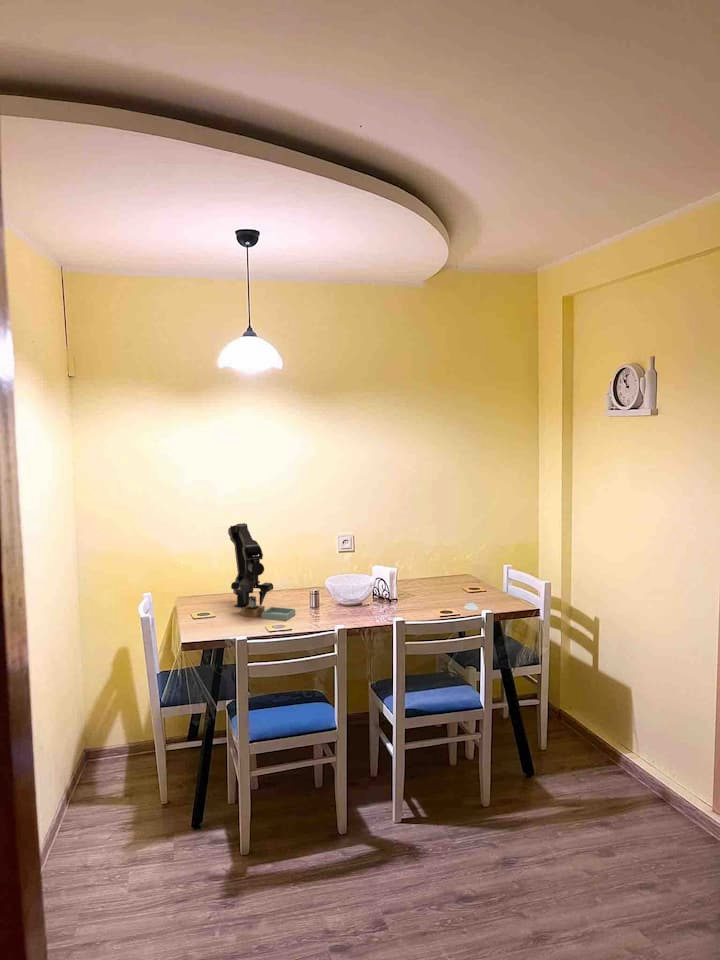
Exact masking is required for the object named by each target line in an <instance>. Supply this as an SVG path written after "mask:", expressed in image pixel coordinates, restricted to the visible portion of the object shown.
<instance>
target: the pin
mask: <svg viewBox="0 0 720 960" xmlns="http://www.w3.org/2000/svg"><path fill="white" fill-rule="evenodd" d="M256 605H257V596H255V595H249V609H256Z"/></svg>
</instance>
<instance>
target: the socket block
mask: <svg viewBox="0 0 720 960" xmlns="http://www.w3.org/2000/svg"><path fill="white" fill-rule="evenodd" d="M264 611H266V610H265V605H258V604H256V609H249V605H247V606H246V607H241V608H240V616H241V617H249V618H259V616H262V612H264Z"/></svg>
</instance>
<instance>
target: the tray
mask: <svg viewBox="0 0 720 960" xmlns="http://www.w3.org/2000/svg"><path fill="white" fill-rule="evenodd" d="M294 616H296V608H289V607H288V608H287V607H276V606H270V607H269V608H267V609H266V610H265V611H264V612H262V614H261V619H262V620H273V621H282V622H287V621H289V620H290V619H292V618H293V617H294Z"/></svg>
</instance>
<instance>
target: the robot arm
mask: <svg viewBox="0 0 720 960" xmlns="http://www.w3.org/2000/svg"><path fill="white" fill-rule="evenodd" d="M227 530H228V531H227V533H228V536H229V539H230V541H231V542H232V544H233V545H234V552H235V553H234V554H235V560H236V561H235V562H236V568H237V575H236V577H235V580H234V581H233V582H231V586H230V588H231V589H232V591H233V594H234V595H236V597H237V598H236V600H237V601H236V604H235V605H234V607H236V608H244V607H246V606H247V605H249V597H250V594H253V593H254V589H259V591H258V594H259V606H263V603H264V599H265V597H266V595H267V593H268V592H271V591H272V590H274V584H273V583H272V582H264V583H262V584H260V583H261V582H260V580H259V576H261V575H263V574H264V572H265V566H264V564H263V563H262V562H261V560H263V559H264V558H263V556H264V553H263V550H262V548H261V545H260V544H259V543H258V542H257V540H255V539H253V537H252V535H251V532H250V531H249V528H248V524H247V523H245V522H244V523H243V522H242V523H237V524H235V525H230V527H228V529H227Z"/></svg>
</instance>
